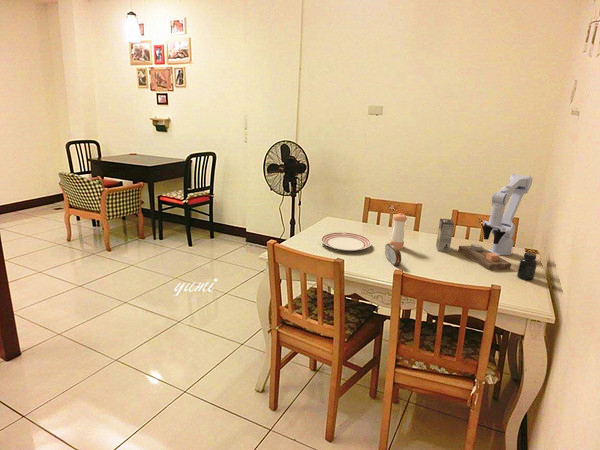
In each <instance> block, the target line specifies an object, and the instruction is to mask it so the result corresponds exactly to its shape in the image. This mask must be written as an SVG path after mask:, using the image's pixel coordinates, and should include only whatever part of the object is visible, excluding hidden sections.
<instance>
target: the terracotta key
mask: <svg viewBox="0 0 600 450" xmlns="http://www.w3.org/2000/svg"><path fill="white" fill-rule="evenodd" d="M499 257H500V255H497V254H495V253H492V252H491V253H487V254H486V259H488V260H490V261H498V259H499Z"/></svg>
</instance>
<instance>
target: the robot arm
mask: <svg viewBox="0 0 600 450" xmlns="http://www.w3.org/2000/svg"><path fill="white" fill-rule="evenodd" d="M532 183H533V177H532V176H531V175H529V176H528V175H522V174H516V173H512V174H511V175H510V177H509V179H508V184H506V185H504V186H503V187H502V188H501V189H499V191H495V192H494V193H493V194H492V196H491V197H492V198H491V211H490V214H489V215H490V216H489V219H488V220H483V223H482V224H483V225H481V228H482V232H483V240H489V238H490V235H491V234H492V236H493V242H492V247H491V249H490V248H489V249H488V248H487V250H488V251H490V252H491V253H495V254H497V255H499V256H512V255H513V253H512V251H513V248H514V247H513V246H514V239H513V237H514V234H515V230H516V225H515V223H514V222H513V220H514V217H515V216H516V213H517V211H518V208H519V206H520V204H521V201H522V199H523V197H524V195H525V194H528V193H529V191H530V189H531V186H532ZM506 206H507V208H506ZM505 209H506V210H505Z"/></svg>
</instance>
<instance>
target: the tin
mask: <svg viewBox="0 0 600 450" xmlns="http://www.w3.org/2000/svg"><path fill="white" fill-rule="evenodd" d="M384 249H385V251H384V255H385V257H386V259H387V260H388V261H389V262H390V263H391V265H393V266H400V265H401V263H402V253H401V249H398V248H397V247H396V246H395V245H394V244H393V243H390V242H389V243H386V244H385V248H384Z"/></svg>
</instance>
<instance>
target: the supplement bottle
mask: <svg viewBox="0 0 600 450" xmlns="http://www.w3.org/2000/svg"><path fill="white" fill-rule="evenodd" d="M523 254H524V255H523V257H521V259H520V260H519V265H518V269H517V274H516V276H517V278H518V279H520V280H522V281H523V280H524V281H527V282H529V281H530V282H531V281H533V280H534V278H535V274H536V271H537V266H538V262H537V260H536V259H537V254H536V253H533V252H529V251H526V252H524V253H523Z"/></svg>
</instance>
